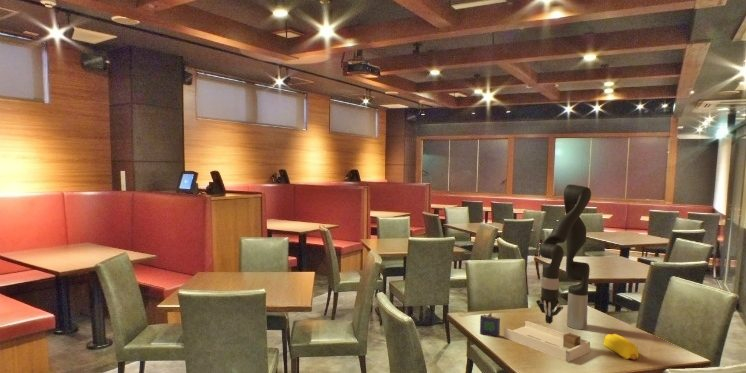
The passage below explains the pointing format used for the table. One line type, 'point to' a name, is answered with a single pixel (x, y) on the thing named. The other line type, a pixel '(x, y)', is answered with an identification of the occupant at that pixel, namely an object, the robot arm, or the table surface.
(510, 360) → the table surface
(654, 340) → the table surface
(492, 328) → the flask
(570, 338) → the walnut block
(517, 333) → the track
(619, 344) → the yellow banana
